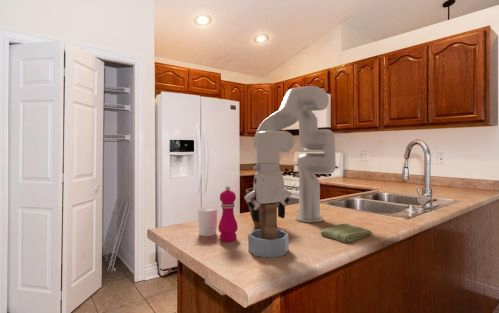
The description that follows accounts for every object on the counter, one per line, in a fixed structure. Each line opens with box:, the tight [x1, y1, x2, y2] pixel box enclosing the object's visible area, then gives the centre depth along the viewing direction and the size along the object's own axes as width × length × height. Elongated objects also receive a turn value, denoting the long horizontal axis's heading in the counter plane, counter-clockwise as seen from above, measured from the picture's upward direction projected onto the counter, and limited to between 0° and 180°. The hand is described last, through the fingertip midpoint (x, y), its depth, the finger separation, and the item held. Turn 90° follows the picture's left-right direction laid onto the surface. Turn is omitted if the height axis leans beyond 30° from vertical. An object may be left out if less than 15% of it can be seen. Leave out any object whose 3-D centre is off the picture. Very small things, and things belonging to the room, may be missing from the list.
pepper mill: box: [218, 185, 239, 243], centre depth 106 cm, size 7×7×20 cm
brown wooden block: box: [259, 203, 278, 240], centre depth 94 cm, size 4×4×15 cm
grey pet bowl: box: [247, 228, 290, 259], centre depth 94 cm, size 12×12×6 cm
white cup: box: [197, 206, 218, 237], centre depth 113 cm, size 8×8×10 cm
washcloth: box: [320, 223, 373, 244], centre depth 110 cm, size 13×18×3 cm
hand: (268, 219), depth 95 cm, fingers open, 9 cm apart
